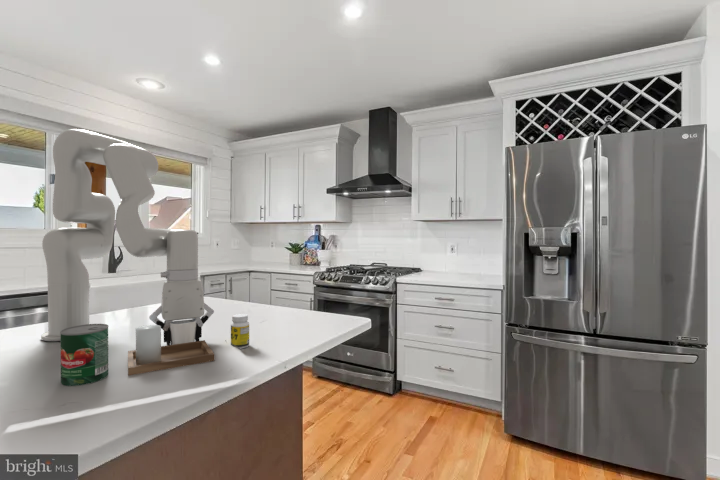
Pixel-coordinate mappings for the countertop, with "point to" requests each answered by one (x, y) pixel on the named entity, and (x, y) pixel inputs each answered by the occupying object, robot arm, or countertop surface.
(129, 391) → the countertop surface
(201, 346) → the walnut tray
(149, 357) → the white pillar candle
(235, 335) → the supplement bottle
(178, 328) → the white tapered cup
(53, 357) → the countertop surface
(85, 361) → the canned tomato
